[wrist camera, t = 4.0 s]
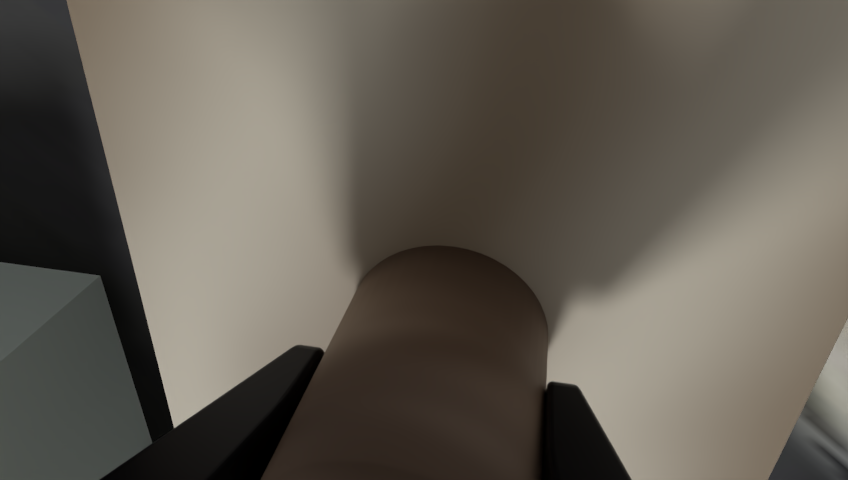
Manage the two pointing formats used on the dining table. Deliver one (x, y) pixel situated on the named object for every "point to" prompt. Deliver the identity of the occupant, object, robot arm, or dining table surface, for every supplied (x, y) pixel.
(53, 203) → the dining table surface
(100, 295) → the mint green open box
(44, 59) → the dining table surface
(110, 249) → the dining table surface
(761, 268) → the lid
